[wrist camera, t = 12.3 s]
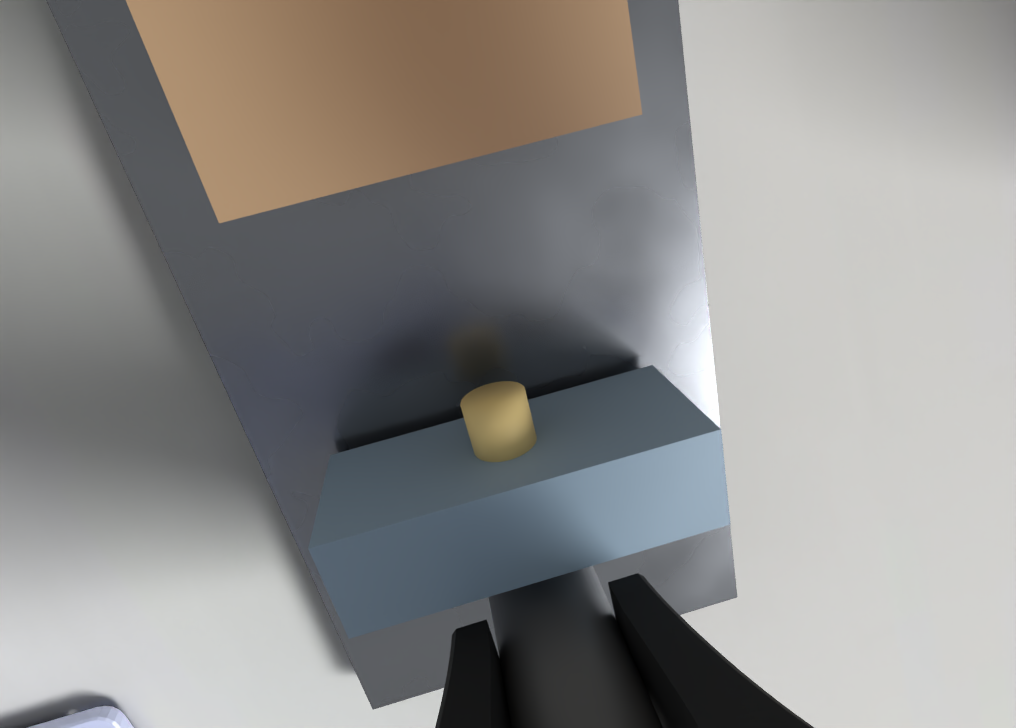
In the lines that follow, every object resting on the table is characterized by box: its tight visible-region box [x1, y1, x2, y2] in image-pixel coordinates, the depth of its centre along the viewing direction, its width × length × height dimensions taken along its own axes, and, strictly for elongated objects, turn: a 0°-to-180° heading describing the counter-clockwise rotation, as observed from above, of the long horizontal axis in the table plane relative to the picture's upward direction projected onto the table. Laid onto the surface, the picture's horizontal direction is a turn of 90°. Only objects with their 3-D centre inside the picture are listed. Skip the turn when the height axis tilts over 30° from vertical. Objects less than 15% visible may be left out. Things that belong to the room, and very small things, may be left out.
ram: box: [308, 365, 730, 728], centre depth 10 cm, size 6×7×6 cm
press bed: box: [47, 0, 737, 709], centre depth 11 cm, size 20×10×4 cm, turn 13°
